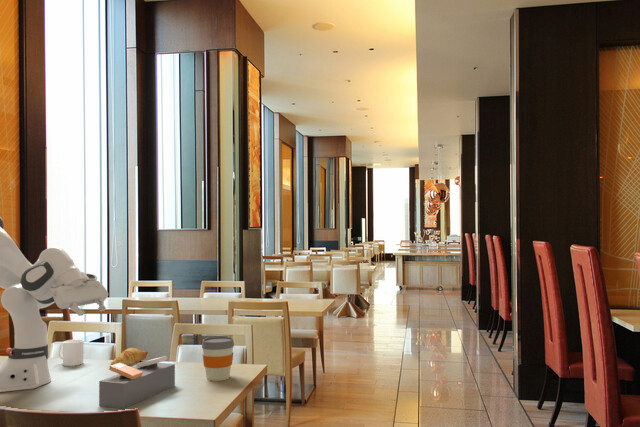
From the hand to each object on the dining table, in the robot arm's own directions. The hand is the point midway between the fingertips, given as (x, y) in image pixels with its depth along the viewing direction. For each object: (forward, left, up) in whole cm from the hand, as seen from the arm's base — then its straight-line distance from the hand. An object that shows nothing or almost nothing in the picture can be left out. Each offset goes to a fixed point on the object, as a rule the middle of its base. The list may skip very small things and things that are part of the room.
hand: (93, 312), depth 186 cm
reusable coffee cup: (+46, -2, -30) cm, 55 cm away
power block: (+14, -7, -30) cm, 34 cm away
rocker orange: (+9, -11, -20) cm, 24 cm away
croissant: (+24, +46, -30) cm, 60 cm away
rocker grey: (+20, -2, -20) cm, 28 cm away
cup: (+2, +60, -30) cm, 67 cm away
